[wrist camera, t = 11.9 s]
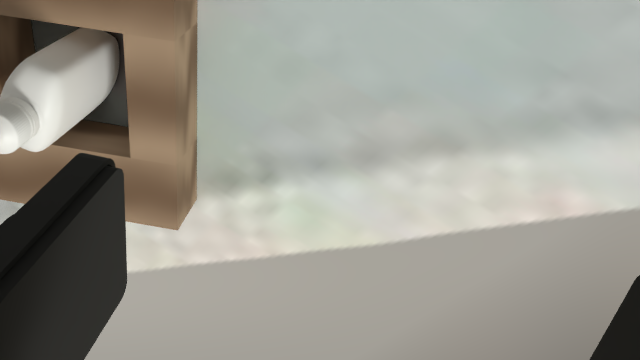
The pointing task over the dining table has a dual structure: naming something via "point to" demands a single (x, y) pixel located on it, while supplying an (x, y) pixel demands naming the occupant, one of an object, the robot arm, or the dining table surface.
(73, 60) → the eye dropper bottle
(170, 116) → the socket block
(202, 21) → the dining table surface
